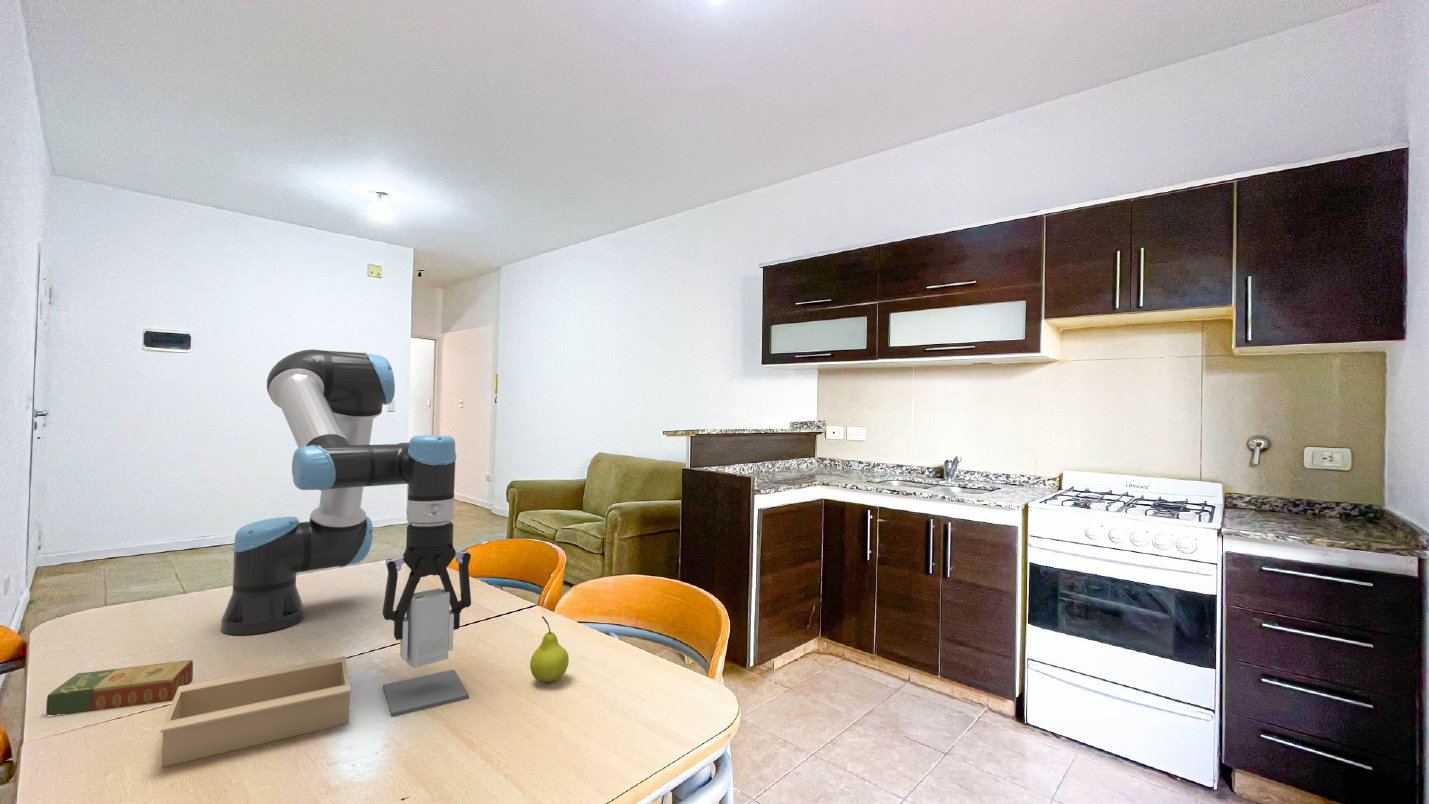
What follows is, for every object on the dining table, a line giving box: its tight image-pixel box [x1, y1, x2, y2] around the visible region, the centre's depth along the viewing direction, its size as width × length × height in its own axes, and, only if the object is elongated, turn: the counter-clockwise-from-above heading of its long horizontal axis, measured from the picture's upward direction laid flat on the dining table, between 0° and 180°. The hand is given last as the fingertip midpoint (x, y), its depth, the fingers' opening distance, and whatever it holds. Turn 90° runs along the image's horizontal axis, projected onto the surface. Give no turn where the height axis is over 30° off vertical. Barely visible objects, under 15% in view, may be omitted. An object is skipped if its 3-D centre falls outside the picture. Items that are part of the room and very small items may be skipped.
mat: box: [382, 669, 470, 718], centre depth 106 cm, size 12×12×1 cm
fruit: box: [529, 615, 570, 685], centre depth 112 cm, size 7×7×12 cm
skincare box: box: [404, 587, 451, 669], centre depth 106 cm, size 6×4×12 cm
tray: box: [160, 655, 352, 768], centre depth 94 cm, size 15×22×6 cm
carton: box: [45, 659, 194, 716], centre depth 102 cm, size 8×16×4 cm, turn 113°
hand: (426, 652), depth 106 cm, fingers closed on skincare box, 7 cm apart
